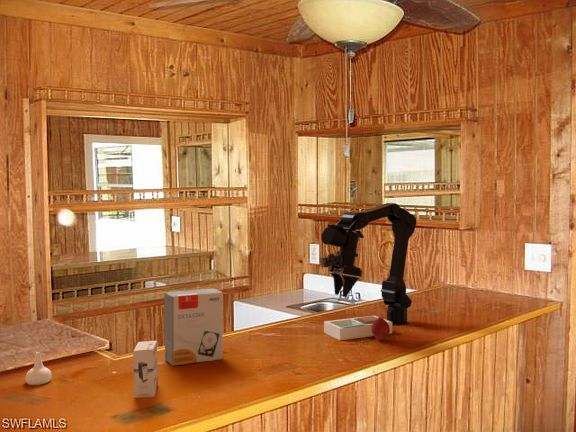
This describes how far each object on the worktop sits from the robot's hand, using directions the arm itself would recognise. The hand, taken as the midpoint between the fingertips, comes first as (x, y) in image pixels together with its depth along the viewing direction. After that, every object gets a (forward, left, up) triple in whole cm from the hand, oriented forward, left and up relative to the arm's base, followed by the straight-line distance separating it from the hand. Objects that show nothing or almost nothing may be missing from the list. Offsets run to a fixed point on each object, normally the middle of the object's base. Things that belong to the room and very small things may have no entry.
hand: (340, 295), depth 202 cm
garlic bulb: (+93, +6, -14) cm, 94 cm away
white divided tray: (-7, 0, -13) cm, 15 cm away
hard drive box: (+51, +5, -14) cm, 53 cm away
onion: (-8, +11, -14) cm, 19 cm away
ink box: (+69, +26, -14) cm, 75 cm away
